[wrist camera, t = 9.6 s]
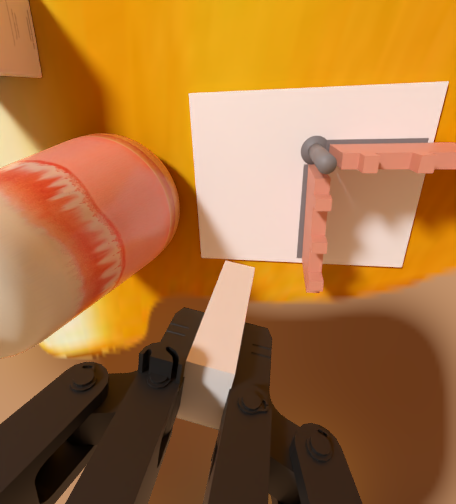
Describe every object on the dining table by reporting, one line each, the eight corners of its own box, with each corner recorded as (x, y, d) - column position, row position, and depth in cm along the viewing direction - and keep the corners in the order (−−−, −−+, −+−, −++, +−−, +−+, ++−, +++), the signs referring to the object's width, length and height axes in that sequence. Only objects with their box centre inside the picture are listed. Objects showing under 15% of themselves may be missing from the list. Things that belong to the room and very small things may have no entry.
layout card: (446, 81, 25) (449, 81, 25) (400, 265, 33) (401, 267, 33) (189, 93, 29) (188, 93, 29) (202, 256, 37) (201, 258, 36)
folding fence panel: (308, 164, 30) (317, 183, 22) (320, 164, 29) (333, 182, 22) (301, 259, 34) (307, 301, 26) (312, 259, 34) (321, 302, 26)
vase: (176, 264, 38) (-66, 615, 12) (72, 232, 38) (-386, 497, 12) (198, 152, 31) (-249, 366, 5) (71, 115, 32) (-934, 133, 6)
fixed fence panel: (452, 141, 27) (520, 153, 19) (447, 157, 27) (512, 174, 20) (308, 143, 29) (318, 155, 21) (307, 158, 29) (316, 174, 22)
